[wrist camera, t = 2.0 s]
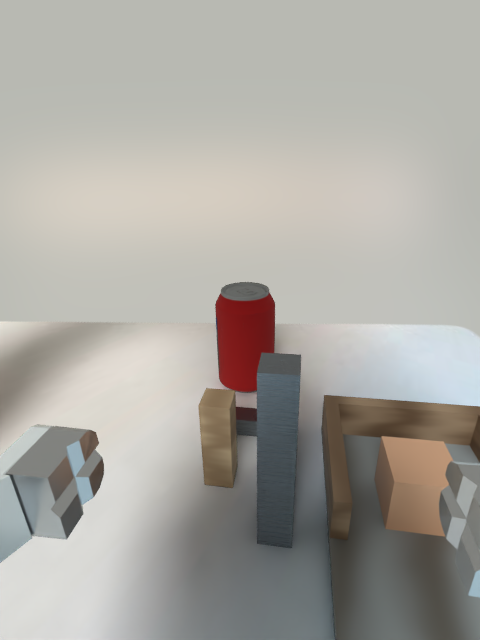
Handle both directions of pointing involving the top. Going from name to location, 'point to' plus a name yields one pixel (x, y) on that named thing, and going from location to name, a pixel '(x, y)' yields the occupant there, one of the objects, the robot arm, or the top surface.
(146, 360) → the top surface
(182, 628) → the top surface
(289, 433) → the hook tool
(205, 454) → the plain rod
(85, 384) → the top surface
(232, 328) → the beverage can
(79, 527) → the top surface
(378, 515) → the wooden tray
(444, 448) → the block
